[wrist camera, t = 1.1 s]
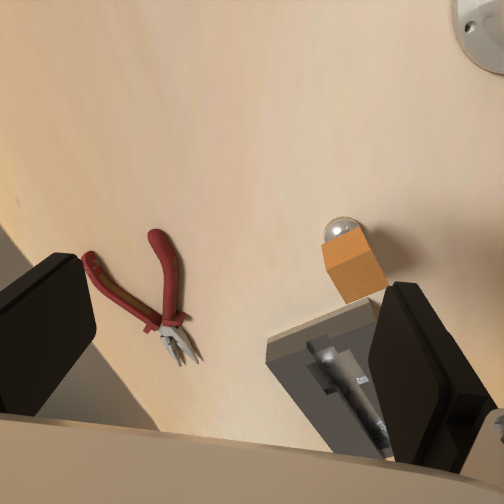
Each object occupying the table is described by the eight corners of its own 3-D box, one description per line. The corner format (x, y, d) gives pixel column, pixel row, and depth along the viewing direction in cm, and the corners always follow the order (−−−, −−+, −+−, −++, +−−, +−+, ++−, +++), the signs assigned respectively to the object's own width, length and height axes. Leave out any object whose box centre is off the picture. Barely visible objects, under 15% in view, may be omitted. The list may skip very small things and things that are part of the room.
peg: (351, 210, 36) (370, 249, 28) (367, 240, 37) (389, 286, 29) (317, 227, 37) (326, 270, 29) (334, 255, 39) (346, 304, 30)
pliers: (157, 366, 50) (151, 380, 48) (83, 250, 42) (71, 260, 40) (228, 350, 47) (225, 363, 45) (163, 223, 40) (155, 232, 37)
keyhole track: (367, 297, 41) (375, 320, 37) (436, 419, 49) (449, 450, 45) (267, 338, 45) (265, 363, 41) (345, 444, 53) (350, 474, 49)
